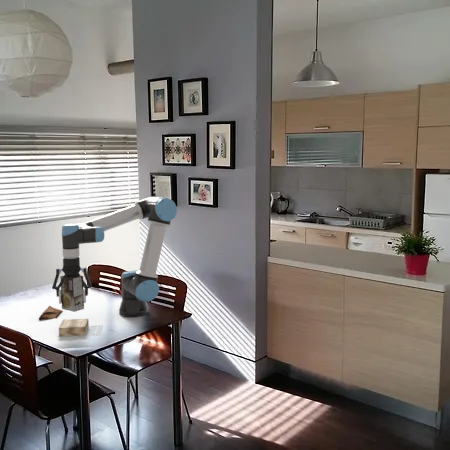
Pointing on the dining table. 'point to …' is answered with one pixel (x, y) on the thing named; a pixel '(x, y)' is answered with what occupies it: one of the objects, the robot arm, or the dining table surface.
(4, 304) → the dining table surface
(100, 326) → the board
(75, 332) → the oak plinth
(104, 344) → the dining table surface
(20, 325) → the dining table surface
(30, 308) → the dining table surface
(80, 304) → the coffee box
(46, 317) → the sunglasses case
